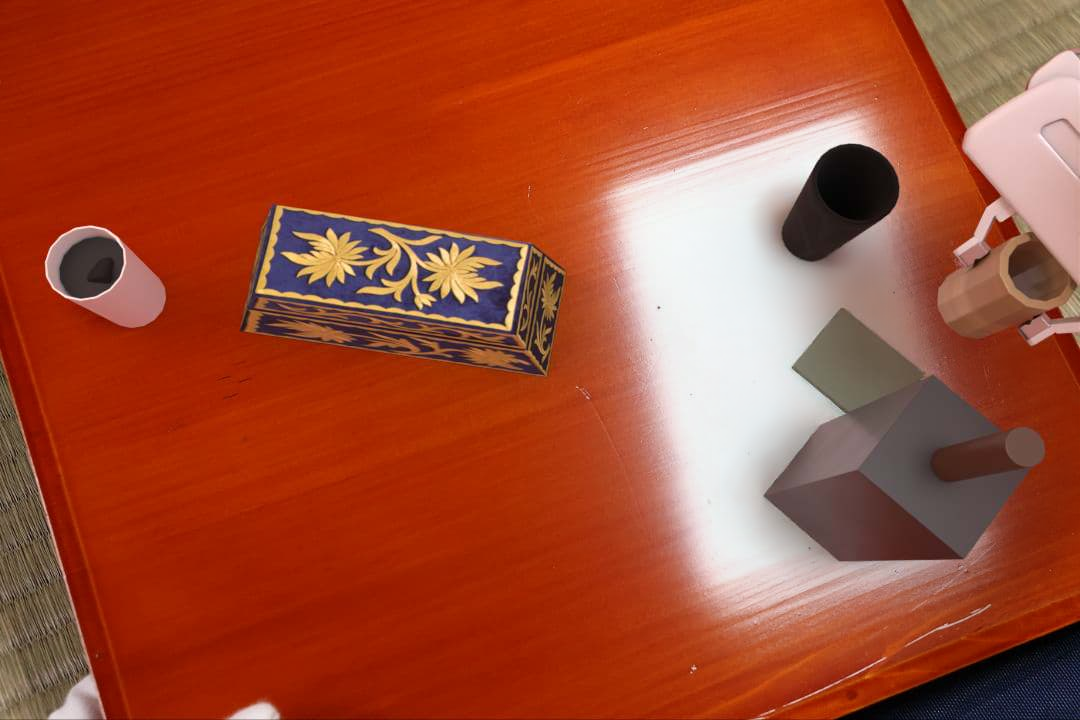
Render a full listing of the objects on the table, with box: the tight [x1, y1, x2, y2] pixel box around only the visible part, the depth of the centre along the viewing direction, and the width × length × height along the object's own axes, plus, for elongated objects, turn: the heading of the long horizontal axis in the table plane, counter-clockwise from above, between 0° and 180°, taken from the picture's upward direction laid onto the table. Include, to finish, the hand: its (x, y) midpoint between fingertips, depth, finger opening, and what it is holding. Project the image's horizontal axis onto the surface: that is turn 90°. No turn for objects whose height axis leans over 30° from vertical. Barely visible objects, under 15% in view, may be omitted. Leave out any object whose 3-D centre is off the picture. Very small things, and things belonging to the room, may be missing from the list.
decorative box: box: [239, 203, 567, 378], centre depth 79 cm, size 11×30×9 cm, turn 82°
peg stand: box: [763, 374, 1046, 563], centre depth 65 cm, size 9×9×31 cm
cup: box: [780, 142, 901, 262], centre depth 81 cm, size 8×8×12 cm
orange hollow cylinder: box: [937, 231, 1078, 340], centre depth 60 cm, size 5×5×8 cm
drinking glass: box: [44, 225, 167, 329], centre depth 77 cm, size 7×7×10 cm
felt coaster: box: [791, 306, 926, 414], centre depth 83 cm, size 10×8×1 cm
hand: (992, 297), depth 59 cm, fingers closed on orange hollow cylinder, 5 cm apart
